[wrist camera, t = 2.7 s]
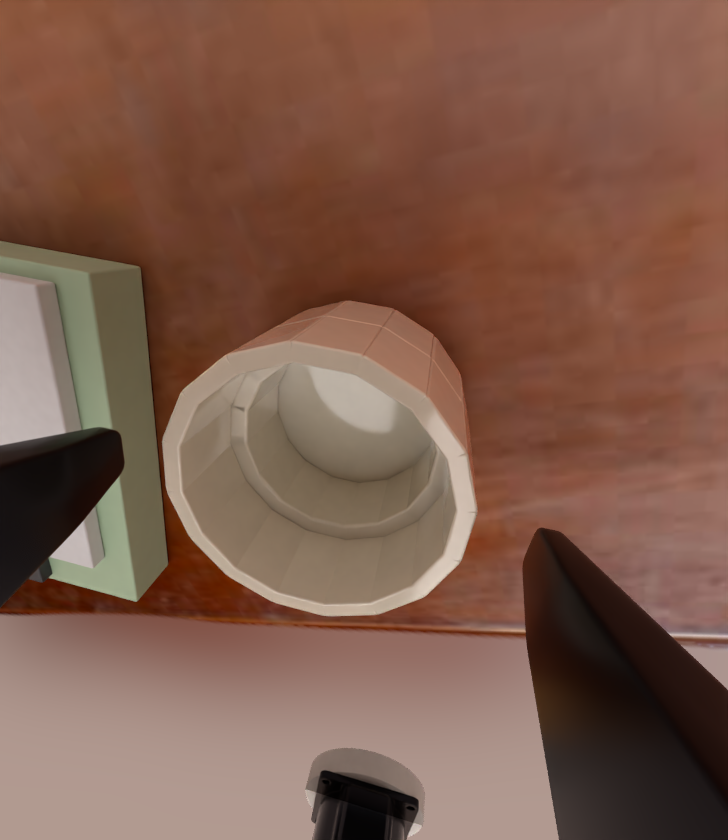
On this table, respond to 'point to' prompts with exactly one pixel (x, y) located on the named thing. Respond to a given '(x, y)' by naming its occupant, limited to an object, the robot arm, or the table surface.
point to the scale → (85, 402)
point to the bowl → (328, 462)
